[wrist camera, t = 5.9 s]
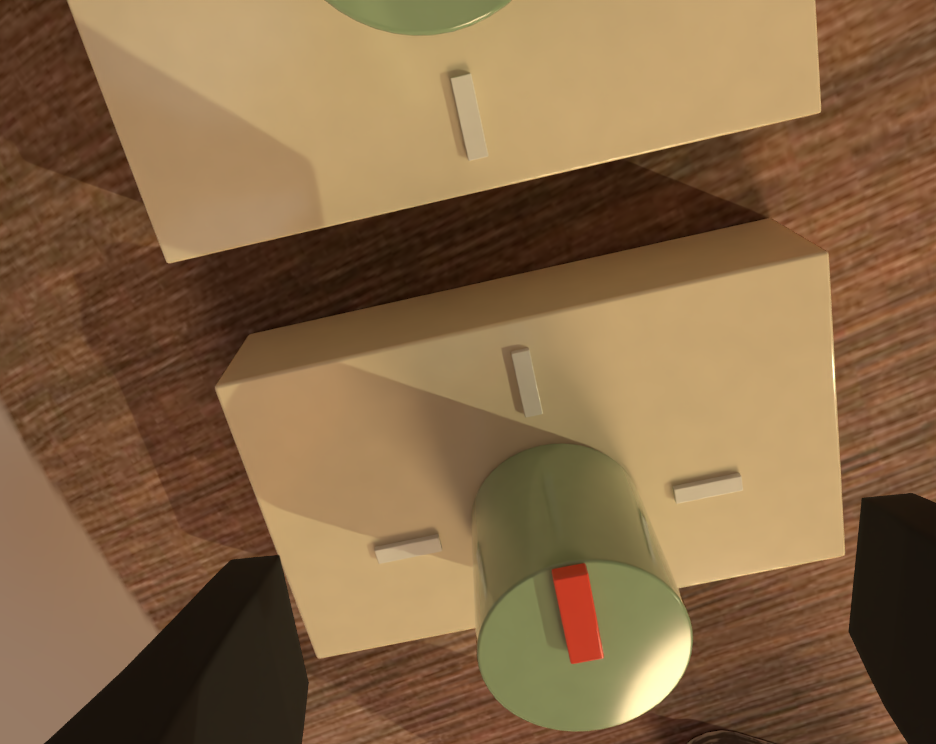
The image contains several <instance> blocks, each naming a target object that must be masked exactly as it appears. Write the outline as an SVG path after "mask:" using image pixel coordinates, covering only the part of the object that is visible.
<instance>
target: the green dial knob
mask: <svg viewBox="0 0 936 744" xmlns="http://www.w3.org/2000/svg"><path fill="white" fill-rule="evenodd" d="M324 1H326V2H327V3H328V4H330V5H331V6H332V7H334V8H335V9H336V10H338V11H339V12H341V13H343V14H344V15H346V16H348V17H350V18H351V19H353V20H355V21H357V22H359V23H362V24H364V25H366V26H369V27H371V28H374V29H377V30H381V31H385V32H389V33H393V34H400V35H409V36H433V35H439V34H444V33H450V32H454V31H457V30H460V29H464V28H467V27H470V26H472V25H474V24H476V23H478V22H480V21H482V20H485V19H487V18H489V17H490V16H492V15H493V14H495V13H496V12H498V11H499V10H501V9H502V8H504V7H505V6H506V5H507V4H509V3H510V2H511V1H512V0H324Z"/></svg>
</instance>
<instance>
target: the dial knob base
mask: <svg viewBox="0 0 936 744" xmlns="http://www.w3.org/2000/svg"><path fill="white" fill-rule="evenodd" d="M215 391H216V393H217V396H218V398H219V401H220V404H221V406H222V409H223V412H224V414H225V417H226V420H227V422H228V425H229V427H230V430H231V433H232V435H233V438H234V441H235V443H236V446H237V449H238V451H239V454H240V456H241V459H242V462H243V464H244V467H245V470H246V472H247V475H248V477H249V480H250V483H251V485H252V488H253V491H254V493H255V496H256V499H257V501H258V504H259V506H260V509H261V512H262V514H263V517H264V520H265V522H266V525H267V528H268V530H269V533H270V535H271V538H272V541H273V543H274V546H275V549H276V551H277V554H278V555H280V559H281V564H282V567H283V570H284V572H285V575H286V578H287V580H288V583H289V586H290V588H291V591H292V593H293V596H294V599H295V601H296V604H297V607H298V609H299V612H300V615H301V617H302V620H303V622H304V625H305V628H306V630H307V633H308V636H309V638H310V641H311V643H312V646H313V649H314V651H315V654H316V657H317V658H325V657H330V656H335V655H340V654H345V653H351V652H356V651H361V650H366V649H371V648H376V647H381V646H386V645H392V644H397V643H402V642H407V641H412V640H417V639H422V638H427V637H432V636H438V635H443V634H448V633H453V632H458V631H463V630H468V629H473V628H475V605H474V583H473V560H472V538H471V512H472V506H473V503H474V500H475V497H476V495H477V492H478V490H479V488H480V487H481V485H482V484H483V482H484V481H485V479H486V478H487V477H488V476H489V475H490V473H491V472H492V471H493V470H494V469H495V468H497V467H498V466H499V465H500V464H501V463H503V462H504V461H505V460H507V459H508V458H510V457H512V456H514V455H515V454H517V453H519V452H522V451H524V450H527V449H529V448H533V447H537V446H540V445H547V444H560V443H566V444H576V445H581V446H585V447H589V448H591V449H594V450H597V451H599V452H601V453H603V454H605V455H607V456H609V457H610V458H612V459H613V460H615V461H616V462H617V463H618V464H620V465H621V466H622V467H623V468H624V469H625V470H626V472H627V473H628V474H629V475H630V476H631V478H632V480H633V481H634V483H635V485H636V487H637V490H638V492H639V494H640V497H641V499H642V502H643V504H644V507H645V509H646V512H647V514H648V516H649V519H650V521H651V524H652V526H653V529H654V531H655V533H656V536H657V538H658V541H659V543H660V546H661V548H662V551H663V553H664V555H665V558H666V560H667V563H668V565H669V568H670V570H671V573H672V575H673V577H674V580H675V582H676V585H677V587H678V588H683V587H688V586H693V585H698V584H704V583H709V582H714V581H719V580H724V579H729V578H734V577H739V576H745V575H750V574H755V573H760V572H765V571H770V570H775V569H780V568H785V567H791V566H796V565H801V564H806V563H811V562H816V561H821V560H826V559H832V558H837V557H842V556H844V555H845V543H844V525H843V507H842V489H841V471H840V452H839V434H838V416H837V398H836V380H835V361H834V343H833V325H832V307H831V289H830V270H829V254H828V252H827V251H826V250H824V249H823V248H821V247H819V246H818V245H816V244H814V243H813V242H811V241H809V240H807V239H806V238H804V237H802V236H801V235H799V234H797V233H795V232H794V231H792V230H790V229H789V228H787V227H785V226H784V225H782V224H780V223H778V222H777V221H775V220H773V219H771V218H768V219H763V220H759V221H754V222H750V223H745V224H741V225H736V226H732V227H727V228H723V229H718V230H714V231H709V232H705V233H701V234H696V235H692V236H687V237H683V238H678V239H674V240H669V241H665V242H660V243H656V244H651V245H647V246H642V247H638V248H633V249H629V250H625V251H620V252H616V253H611V254H607V255H602V256H598V257H593V258H589V259H584V260H580V261H575V262H571V263H566V264H562V265H557V266H553V267H549V268H544V269H540V270H535V271H531V272H526V273H522V274H517V275H513V276H508V277H504V278H499V279H495V280H490V281H486V282H481V283H477V284H473V285H468V286H464V287H459V288H455V289H450V290H446V291H441V292H437V293H432V294H428V295H423V296H419V297H414V298H410V299H405V300H401V301H397V302H392V303H388V304H383V305H379V306H374V307H370V308H365V309H361V310H356V311H352V312H347V313H343V314H338V315H334V316H329V317H325V318H321V319H316V320H312V321H307V322H303V323H298V324H294V325H289V326H285V327H280V328H276V329H271V330H267V331H262V332H258V333H253V334H250V335H248V336H247V338H246V339H245V341H244V342H243V344H242V345H241V347H240V348H239V350H238V351H237V353H236V354H235V356H234V357H233V359H232V361H231V362H230V364H229V365H228V367H227V368H226V370H225V371H224V373H223V374H222V376H221V377H220V379H219V380H218V382H217V383H216V385H215Z"/></svg>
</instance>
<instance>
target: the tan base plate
mask: <svg viewBox="0 0 936 744" xmlns="http://www.w3.org/2000/svg"><path fill="white" fill-rule="evenodd" d="M67 2H68V5H69V7H70V10H71V13H72V15H73V18H74V20H75V23H76V26H77V28H78V31H79V34H80V36H81V39H82V42H83V44H84V47H85V49H86V52H87V55H88V57H89V60H90V63H91V65H92V68H93V71H94V73H95V76H96V78H97V81H98V84H99V86H100V89H101V92H102V94H103V97H104V99H105V102H106V105H107V107H108V110H109V113H110V115H111V118H112V121H113V123H114V126H115V128H116V131H117V134H118V136H119V139H120V142H121V144H122V147H123V150H124V152H125V155H126V157H127V160H128V163H129V165H130V168H131V171H132V173H133V176H134V178H135V181H136V184H137V186H138V189H139V192H140V194H141V197H142V200H143V202H144V205H145V207H146V210H147V213H148V215H149V218H150V221H151V223H152V226H153V228H154V231H155V234H156V236H157V239H158V242H159V244H160V247H161V250H162V252H163V255H164V257H165V260H166V262H167V263H174V262H178V261H183V260H187V259H191V258H196V257H200V256H204V255H209V254H213V253H217V252H222V251H226V250H230V249H235V248H239V247H243V246H248V245H252V244H256V243H261V242H265V241H269V240H274V239H278V238H282V237H287V236H291V235H295V234H300V233H304V232H308V231H313V230H317V229H321V228H326V227H330V226H334V225H339V224H343V223H347V222H352V221H356V220H360V219H365V218H369V217H373V216H377V215H382V214H386V213H390V212H395V211H399V210H403V209H408V208H412V207H416V206H421V205H425V204H429V203H434V202H438V201H442V200H447V199H451V198H455V197H460V196H464V195H468V194H473V193H477V192H481V191H486V190H490V189H494V188H499V187H503V186H507V185H512V184H516V183H520V182H525V181H529V180H533V179H538V178H542V177H546V176H551V175H555V174H559V173H564V172H568V171H572V170H576V169H581V168H585V167H589V166H594V165H598V164H602V163H607V162H611V161H615V160H620V159H624V158H628V157H633V156H637V155H641V154H646V153H650V152H654V151H659V150H663V149H667V148H672V147H676V146H680V145H685V144H689V143H693V142H698V141H702V140H706V139H711V138H715V137H719V136H724V135H728V134H732V133H737V132H741V131H745V130H750V129H754V128H758V127H763V126H767V125H771V124H775V123H780V122H784V121H788V120H793V119H797V118H801V117H806V116H810V115H814V114H818V113H820V112H821V97H820V79H819V61H818V43H817V24H816V6H815V0H512V1H511V2H510V3H509V4H507V5H506V6H505V7H504V8H502V9H501V10H499V11H498V12H496V13H495V14H493V15H492V16H490V17H489V18H487V19H485V20H482V21H480V22H478V23H476V24H474V25H472V26H470V27H467V28H464V29H460V30H457V31H454V32H450V33H444V34H439V35H433V36H409V35H400V34H393V33H389V32H385V31H381V30H377V29H374V28H371V27H369V26H366V25H364V24H362V23H359V22H357V21H355V20H353V19H351V18H350V17H348V16H346V15H344V14H343V13H341V12H339V11H338V10H336V9H335V8H334V7H332V6H331V5H330V4H328V3H327V2H326V1H324V0H67Z"/></svg>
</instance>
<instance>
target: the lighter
mask: <svg viewBox="0 0 936 744" xmlns="http://www.w3.org/2000/svg"><path fill="white" fill-rule="evenodd" d="M687 744H773V743H770V742H766V741H763V740H760V739H756V738H753V737H750V736H747V735H743V734H740V733H737V732H732V731H723V730H720V731H714V732H708V733H705V734H703V735H701V736H698V737H696V738H694V739H692V740H691V741H690V742H688V743H687Z"/></svg>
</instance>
